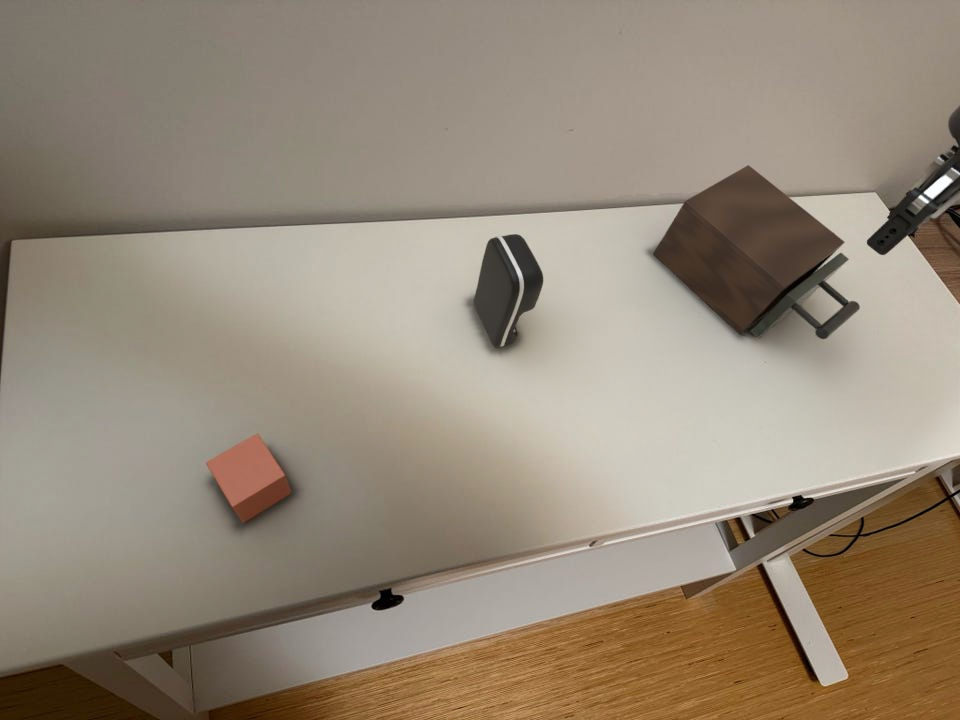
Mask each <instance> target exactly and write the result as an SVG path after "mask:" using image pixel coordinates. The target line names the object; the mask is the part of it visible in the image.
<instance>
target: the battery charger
mask: <svg viewBox="0 0 960 720" xmlns="http://www.w3.org/2000/svg"><path fill="white" fill-rule="evenodd" d="M478 275H479V276H478V280H477V285H476V289H475V294H474V298H473V305H474V306H475V309H476V311H477V314H478V315H479V318H480V320H481V322H482V324H483V326H484V328H485V331H486V332H487V335H488V337H489V339H490V341H491V343H492V345H493V346H494V347H500V348H501V347H504V346H505V345H509V344H512V343H513V342H515V341H516V340H517V338H518V335H519V332H518V329H517V327H516V326H517V324H518V321H519V319H520V317H521V316H522V315H523V313H526V312H529V311H532V310H533V309H535V308H536V304H537V302H538V300H539V298H540V295H541V292H542V288H543V285H544V274H543V271H542V268H541V266H540V265H539V263H538V261H537V258H536V257H535V255H534V253H533V251H532V250H531V248H530V246H529V245H528V243H527V241H526V240H525V238H524V237H523V236H521V234H517V233H514V234H507V235H502V236H501V235H496V236H494V237H491V238H490V239H489V240H487V243H486V245H485V250H484V253H483V256H482V261H481V266H480V270H479V274H478Z"/></svg>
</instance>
